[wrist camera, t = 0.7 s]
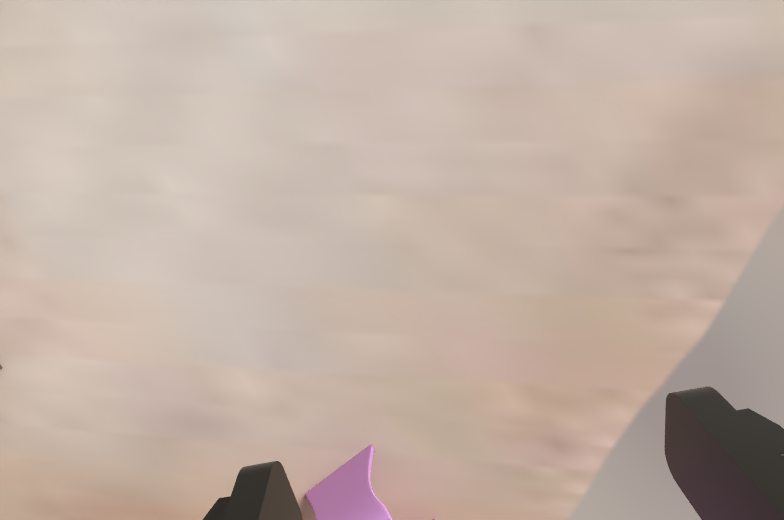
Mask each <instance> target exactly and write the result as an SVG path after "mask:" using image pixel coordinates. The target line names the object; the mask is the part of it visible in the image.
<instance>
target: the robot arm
mask: <svg viewBox="0 0 784 520" xmlns="http://www.w3.org/2000/svg"><path fill="white" fill-rule="evenodd" d="M665 418H666V419H665V455H666V460H667V463H668V466H669V469H670V471H671V474H672V476H673V478H674V480H675V481H676V483H677V484H678V486H679V487H680V489H681V490H682V492H683V493H684V495H685V496H686V497H687V499H688V500H689V502H690V503H691V505H692V506H693V508H694V509H695V511H696V512H697V513H698V515H699V516H700V518H701V519H702V520H784V429H783V428H782V427H781V426H779V425H778V424H776V423H774V422H772V421H770V420H768V419H767V418H765V417H763V416H761V415H759V414H757V413H756V412H754V411H752V410H750V409H743V410H737V411H736V410H735V409H734V408H733V407H732V406H731V405H730V404H729V403H728V402H727V401H726V400H725V399H724V398H723V397H722V396H721V395H720V394H719V393H718V392H717V391H716V390H715V389H713V388H711V387H703V388H697V389H691V390H686V391H680V392H674V393H669V394H668V396H667V398H666V417H665ZM203 520H302V515H301V511H300V508H299V506H298V503H297V501H296V498H295V496H294V493H293V491H292V488H291V486H290V483H289V481H288V478H287V476H286V473H285V471H284V468H283V466H282V464H281V463H280V462H279V461H275V462H269V463H263V464H258V465H252V466H246V467H243V468H242V469H241V470H240V472H239V474H238V476H237V479H236V482H235V485H234V488H233V491H232V494H231V496H230V497H224V498H219V499H218V500H217V501H216V503H215V504H214V505H213V507H212V508H211V509H210V511H209V512H208V513H207V515H206V516H205V517H204V519H203Z"/></svg>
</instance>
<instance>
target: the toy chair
mask: <svg viewBox="0 0 784 520" xmlns="http://www.w3.org/2000/svg"><path fill="white" fill-rule="evenodd" d="M373 453H374V447H373V446H372V445H370V446H368V447H367V448H366V449H364V450H363V451H362V452H360V453H359V454H358V455H356V456H355V457H354V458H352V459H351V460H350V461H348V462H347V463H346V464H344V465H343V466H342V467H340V468H339V469H338V470H336V471H335V472H334V473H332V474H331V475H330V476H328V477H327V478H326V479H324V480H323V481H322V482H320V483H319V484H318V485H316V486H315V487H314V488H312V489H311V490H310V491H308V492H307V493H306V497H307V499H308V500H309V502H310V504H311V505H312V507H313V510H314V513H315V518H316V520H393V519H392V517H391V516H390V514H389V512H388V510H387V508H386V507H385V506H384V505H383V504H382V503H381V502H380V500H379V499H378V498H377V497H376V495H375V494H374V492H373V490H372V487H371V479H370V475H371V465H372V458H373ZM433 520H435V519H433Z"/></svg>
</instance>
